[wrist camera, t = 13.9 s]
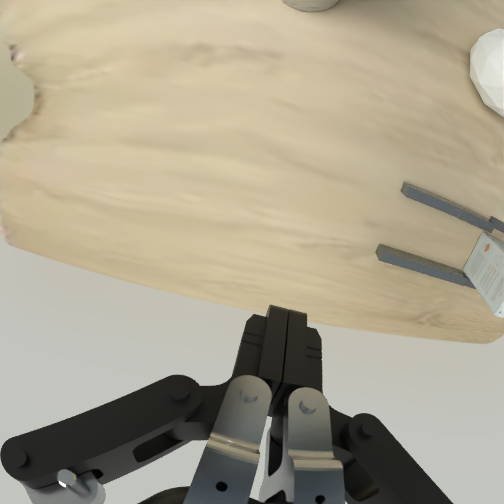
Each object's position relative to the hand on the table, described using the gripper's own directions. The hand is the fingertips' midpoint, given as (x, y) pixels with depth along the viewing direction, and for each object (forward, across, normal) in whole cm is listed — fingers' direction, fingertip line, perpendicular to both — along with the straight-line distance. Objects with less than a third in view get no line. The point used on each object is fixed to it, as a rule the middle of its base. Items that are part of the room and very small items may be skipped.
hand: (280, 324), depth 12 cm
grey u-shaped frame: (+32, -25, +4) cm, 41 cm away
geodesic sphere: (+32, -25, -24) cm, 47 cm away
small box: (+32, -37, +4) cm, 49 cm away
